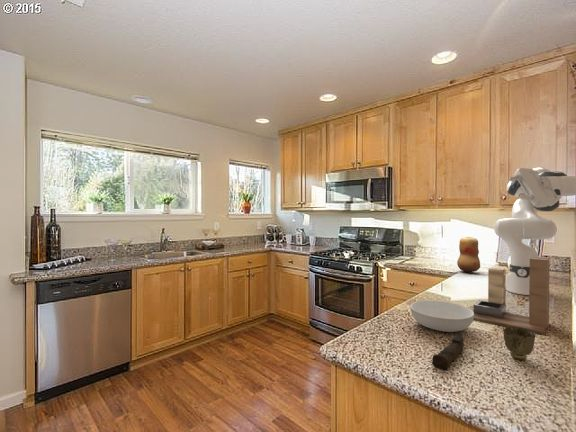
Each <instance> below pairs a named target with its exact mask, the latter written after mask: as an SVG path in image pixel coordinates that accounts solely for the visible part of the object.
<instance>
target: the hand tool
mask: <svg viewBox="0 0 576 432" xmlns="http://www.w3.org/2000/svg"><path fill="white" fill-rule="evenodd" d="M464 342H465V339H464V336H463V335H461V334H459V335H456V336H454V337H452V338H451V342H450V343H449V344H448V345H447V346H445V347H444V348H443V349H442V350H440V351H439V353H437V354H433V356H432V359H431V361H432V362H431V364H432V366H433V367H434V368H436V369H438V370H441V371H447V370H448V368H449V366H450V364H451V363H452V362H453V361H455V359H456V358H457V357H458V356H461V355H462V353H463V352H464V347H465V346H464V344H465V343H464Z"/></svg>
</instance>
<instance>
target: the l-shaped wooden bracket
mask: <svg viewBox="0 0 576 432" xmlns="http://www.w3.org/2000/svg"><path fill="white" fill-rule="evenodd" d="M528 296H529V297H528V299H529V300H528V302H529V305H528V308H529V309H528V316H525V315H521V314H515V313H510V312H507V304H500V303H494V302H488V300H481V299H478V300H477V301H476V302H475V303H473V305H470V306H469V307H468V308H469V309H471V310H472V311H473V312H474V319H473V321H477V322H481V323H485V324H486V323H487V324H492V325H497V326H500V327H504V328H506V326H507V328H508V326H510V327H511V328H513V326H514V327H515V328H516V329H517V328H519V327H521V328H523V329H524V330H525V329H528V332H529V333H532V332H534V334H537V335H543V336H544V335H545V331H546V329H547V328H548V326H549V323H550V257H544V256H537V257H534V256H532V257H531V258H530V280H529V295H528Z"/></svg>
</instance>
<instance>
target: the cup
mask: <svg viewBox="0 0 576 432" xmlns="http://www.w3.org/2000/svg"><path fill="white" fill-rule="evenodd" d="M502 331H503V332H502V333H503V339H504V340H503V341H504V344H505V347H506V349H507V350H508V351H510V356H511V357H512V358H513V359H515V360H518V361H525V360H527V358H528V357H527V356H528V355H530V354H531V353H532V352H533V351H534V347H535V342H536V341H535V340H536V334H537V333H534V332H528V329H525V330H524V329H523V328H521V327H519V328H517V329H516V328H515V327H514V326H513V328H511V327H510V326H508V327H507V326H506V327H502Z"/></svg>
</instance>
